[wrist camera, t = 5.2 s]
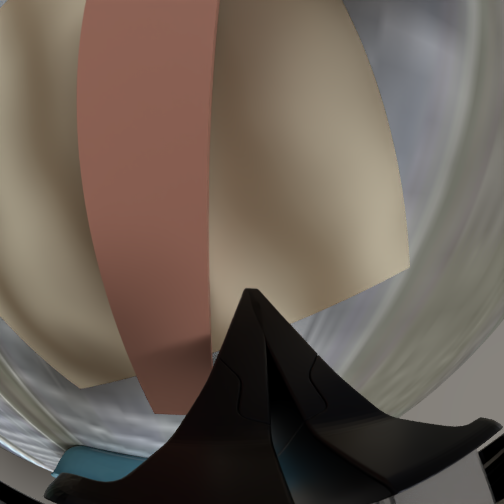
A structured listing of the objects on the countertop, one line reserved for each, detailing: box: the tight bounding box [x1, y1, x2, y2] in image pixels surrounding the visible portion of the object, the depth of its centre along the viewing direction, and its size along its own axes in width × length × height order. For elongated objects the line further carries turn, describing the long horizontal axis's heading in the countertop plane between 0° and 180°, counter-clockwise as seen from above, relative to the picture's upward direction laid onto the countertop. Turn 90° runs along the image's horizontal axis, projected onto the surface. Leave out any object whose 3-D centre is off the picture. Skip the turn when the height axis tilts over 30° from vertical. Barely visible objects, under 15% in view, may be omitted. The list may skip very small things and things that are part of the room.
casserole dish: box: [51, 446, 148, 482], centre depth 29 cm, size 37×22×7 cm, turn 78°
